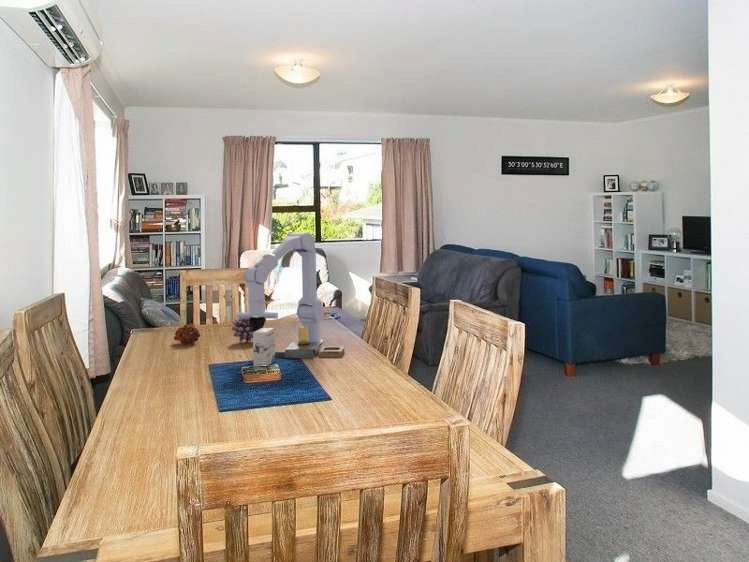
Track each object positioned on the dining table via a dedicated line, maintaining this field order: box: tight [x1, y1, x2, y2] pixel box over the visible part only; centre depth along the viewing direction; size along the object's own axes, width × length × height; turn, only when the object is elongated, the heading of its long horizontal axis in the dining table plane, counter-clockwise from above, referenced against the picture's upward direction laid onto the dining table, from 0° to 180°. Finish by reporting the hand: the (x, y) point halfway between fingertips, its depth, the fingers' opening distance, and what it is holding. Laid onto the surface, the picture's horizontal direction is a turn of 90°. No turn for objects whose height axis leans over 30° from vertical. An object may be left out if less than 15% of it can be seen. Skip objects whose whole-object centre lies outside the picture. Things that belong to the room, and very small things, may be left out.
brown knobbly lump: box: [173, 323, 201, 345], centre depth 250 cm, size 8×8×12 cm
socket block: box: [284, 341, 320, 359], centre depth 226 cm, size 13×10×3 cm
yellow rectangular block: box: [297, 325, 309, 346], centre depth 228 cm, size 4×4×10 cm
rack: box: [318, 346, 345, 358], centre depth 224 cm, size 8×8×2 cm
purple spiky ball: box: [231, 318, 254, 343], centre depth 250 cm, size 12×12×12 cm
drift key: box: [275, 350, 285, 358], centre depth 222 cm, size 3×9×3 cm, turn 86°
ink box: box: [252, 327, 276, 367], centre depth 211 cm, size 9×5×12 cm, turn 168°
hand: (258, 338), depth 222 cm, fingers closed
